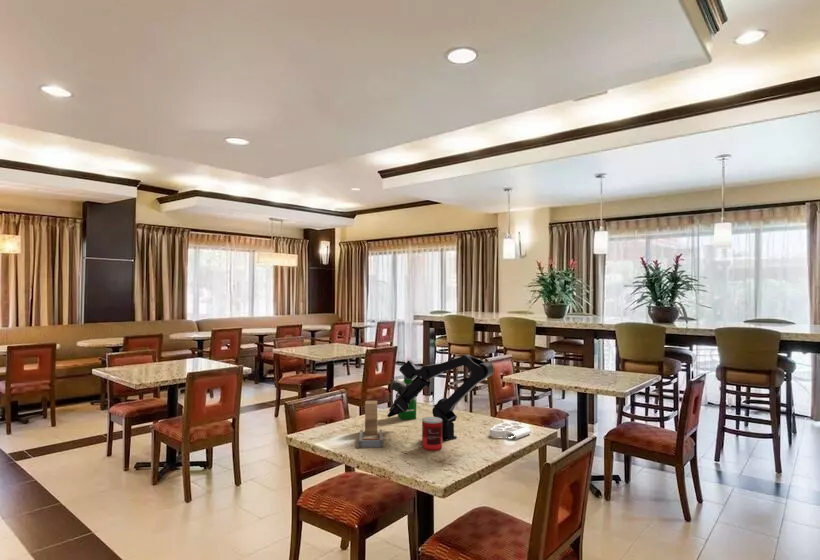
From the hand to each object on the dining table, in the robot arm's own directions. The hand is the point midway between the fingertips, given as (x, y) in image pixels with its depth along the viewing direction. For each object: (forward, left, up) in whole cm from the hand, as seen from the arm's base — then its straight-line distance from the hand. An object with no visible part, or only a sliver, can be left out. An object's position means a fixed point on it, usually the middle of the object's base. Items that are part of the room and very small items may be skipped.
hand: (388, 413), depth 206 cm
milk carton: (+16, -21, -8) cm, 28 cm away
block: (+5, +6, -8) cm, 11 cm away
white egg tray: (-31, -40, -9) cm, 52 cm away
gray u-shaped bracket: (-6, +12, -8) cm, 16 cm away
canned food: (-27, -2, -8) cm, 28 cm away
